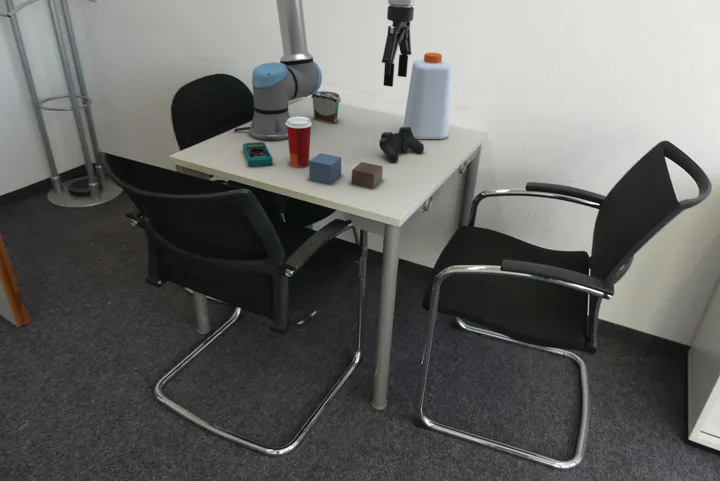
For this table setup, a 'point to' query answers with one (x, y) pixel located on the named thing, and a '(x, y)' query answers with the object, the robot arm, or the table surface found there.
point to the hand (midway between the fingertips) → (395, 81)
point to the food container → (326, 106)
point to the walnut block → (367, 175)
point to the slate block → (325, 168)
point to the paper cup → (299, 140)
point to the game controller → (399, 143)
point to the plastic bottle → (429, 98)
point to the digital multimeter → (257, 154)
